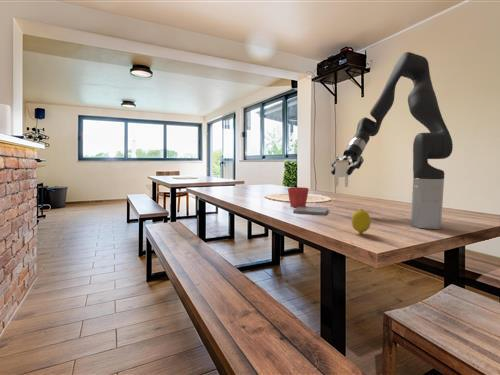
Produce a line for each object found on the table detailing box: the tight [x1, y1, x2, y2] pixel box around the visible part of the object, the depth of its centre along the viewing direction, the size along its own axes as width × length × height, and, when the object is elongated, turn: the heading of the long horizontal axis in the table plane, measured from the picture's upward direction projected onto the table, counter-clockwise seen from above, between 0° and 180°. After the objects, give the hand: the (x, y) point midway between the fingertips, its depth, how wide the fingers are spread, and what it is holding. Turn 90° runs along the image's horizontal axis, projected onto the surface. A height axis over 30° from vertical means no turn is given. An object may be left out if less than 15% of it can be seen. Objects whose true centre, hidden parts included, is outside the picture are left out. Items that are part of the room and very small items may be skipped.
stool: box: [334, 160, 350, 188], centre depth 127 cm, size 6×6×12 cm
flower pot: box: [287, 186, 310, 208], centre depth 145 cm, size 11×11×10 cm
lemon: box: [351, 208, 372, 235], centre depth 88 cm, size 6×6×8 cm
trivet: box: [292, 206, 329, 216], centre depth 129 cm, size 14×14×1 cm
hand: (340, 173), depth 126 cm, fingers closed on stool, 7 cm apart
